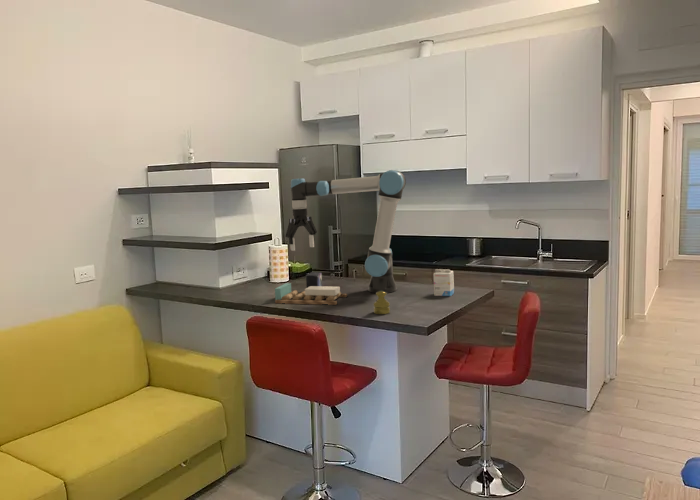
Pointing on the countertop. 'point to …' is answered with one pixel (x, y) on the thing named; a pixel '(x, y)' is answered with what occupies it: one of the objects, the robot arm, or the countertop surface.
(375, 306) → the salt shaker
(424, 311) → the countertop surface
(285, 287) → the block
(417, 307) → the countertop surface
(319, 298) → the roller bed
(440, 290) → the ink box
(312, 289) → the slab
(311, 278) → the small box
